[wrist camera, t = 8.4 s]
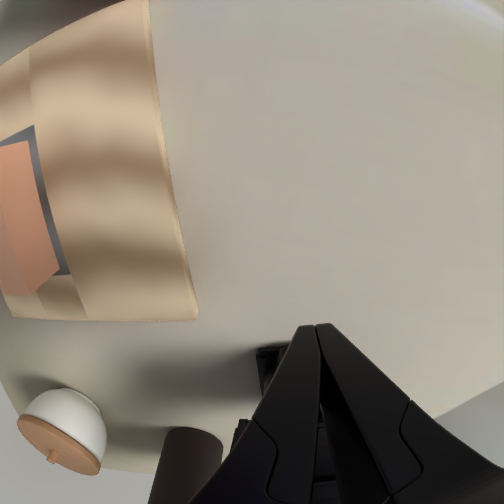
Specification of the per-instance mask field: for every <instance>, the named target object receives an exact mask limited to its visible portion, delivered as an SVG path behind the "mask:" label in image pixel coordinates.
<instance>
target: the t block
mask: <svg viewBox="0 0 504 504" xmlns="http://www.w3.org/2000/svg"><path fill="white" fill-rule="evenodd" d="M59 269H60V267H59V264H58V261H57V258H56V255H55V252H54V249H53V246H52V243H51V240H50V236H49V233H48V230H47V226H46V222H45V219H44V215H43V211H42V207H41V204H40V199H39V195H38V191H37V187H36V182H35V177H34V172H33V167H32V162H31V156H30V150H29V144H28V140H27V141H23V142H18V143H14V144H10V145H6V146H2V147H0V288H1V291H2V293H3V295H32V294H33V293H34V292H35V291H36V290H37V289H38V288H39V287H40V286H41V285H42V284H43V283H44V282H46V281H47V280H48V279H49V278H50V277H51V276H52V275H53V274H55V273H56V272H57V271H58V270H59Z"/></svg>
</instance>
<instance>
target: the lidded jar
mask: <svg viewBox="0 0 504 504" xmlns="http://www.w3.org/2000/svg"><path fill="white" fill-rule="evenodd" d="M17 426H18V428H19V430H20V432H21V433H22V435H23V436H24V437H25V438H26V439H27V440H28V441H29V442H30V443H31V444H32V445H33V446H34V447H35V448H36V449H37V450H39V451H40V452H41V453H43V454H44V455H45V456H47V461H49V462H50V463H52V464H55V462H56V463H58V464H60V465H62V466H64V467H65V468H68V469H70V470H73V471H75V472H77V473H81V474H85V475H97V474H98V473H99V470H100V467H101V462H102V460H103V457H104V453H105V449H106V443H107V432H106V427H105V424H104V421H103V419H102V417H101V412H100V410H99V408H98V407H97V406H96V405H95V403H94V402H92V401H91V400H90V399H89V398H88V397H86V396H85V395H83V394H82V393H80V392H78V391H76V390H73V389H70V388H61V389H53V390H48V391H45V392H43V393H42V394H40V395H38V396H37V397H36V398H35V399H34V400H33V401H32V402H31V403H30V404H29V405H28V407H27V408H26V410H25V411H24V413H23V415H21V416H20V417H19V419H18V421H17Z"/></svg>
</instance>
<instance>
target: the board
mask: <svg viewBox="0 0 504 504" xmlns="http://www.w3.org/2000/svg"><path fill="white" fill-rule="evenodd" d="M27 140H28V144H29V150H30V156H31V162H32V167H33V172H34V177H35V182H36V187H37V191H38V195H39V199H40V204H41V207H42V211H43V215H44V219H45V222H46V226H47V230H48V233H49V236H50V240H51V243H52V246H53V249H54V252H55V255H56V258H57V261H58V264H59V267H60V269H59V270H58V271H57V272H56V273H55V274H53V275H52V276H51V277H50V278H49V279H48V280H47V281H46V282H44V283H43V284H42V285H41V286H40V287H39V288H38V289H37V290H36V291H35V292H34V293H33V294H32V295H3V297H4V299H5V301H6V303H7V305H8V308H9V310H10V312H11V314H12V316H13V317H18V318H33V319H51V320H76V321H189V320H196V318H197V315H198V312H199V309H198V305H197V300H196V296H195V292H194V288H193V284H192V279H191V275H190V271H189V266H188V262H187V257H186V253H185V248H184V244H183V239H182V234H181V229H180V224H179V219H178V214H177V209H176V204H175V199H174V194H173V188H172V183H171V177H170V171H169V165H168V160H167V154H166V147H165V141H164V135H163V128H162V121H161V114H160V107H159V99H158V92H157V84H156V75H155V66H154V57H153V47H152V36H151V25H150V12H149V0H125V1H122V2H119V3H117V4H114V5H111V6H109V7H106V8H104V9H102V10H99V11H97V12H95V13H92V14H90V15H88V16H86V17H83V18H81V19H79V20H77V21H75V22H73V23H71V24H69V25H67V26H65V27H63V28H61V29H59V30H57V31H55V32H54V33H52V34H50V35H48V36H46V37H45V38H43V39H41V40H39V41H38V42H36V43H34V44H33V45H31V46H30V47H28V48H26V49H25V50H23V51H22V52H20V53H19V54H17V55H15V56H14V57H13V58H11V59H10V60H8V61H7V62H5V63H4V64H2V65H1V66H0V147H2V146H6V145H10V144H14V143H18V142H23V141H27ZM0 290H1V288H0ZM1 292H2V291H1ZM2 294H3V293H2Z"/></svg>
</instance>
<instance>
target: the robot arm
mask: <svg viewBox="0 0 504 504" xmlns="http://www.w3.org/2000/svg"><path fill="white" fill-rule="evenodd" d="M261 354H265V355H261ZM256 359H257V366H258V372H259V378H260V385H261V391H262V399H261V401H260V403H259V405H258V407H257V409H256V410H255V412H254V414H253V416H252V420H248V419H239V423H238V428H236V429H235V433H234V437H233V441H232V445H231V449H230V453H229V455H228V456H227V457H226V458H225V460H224V461H223V462H222V464H221V465H220V466H219V468H218V469H217V470H216V471H215V472H214V474H213V475H212V476H211V477H210V478H209V479H208V481H207V482H206V483H205V484H204V485H203V486H202V487H201V489H200V490H199V491H198V492H197V493H196V494H195V495H194V496H193V498H192V499H191V500H190V501H189V502H188V503H187V504H504V468H501V467H499V466H497V465H495V464H494V463H492V462H490V461H489V460H487V459H486V458H484V457H483V456H482V455H480V454H479V453H477V452H476V451H475V450H473V449H472V448H470V447H469V446H467V445H466V444H465V443H464V442H462V441H461V440H459V439H458V438H457V437H455V436H454V435H452V434H451V433H450V432H448V431H447V430H446V429H445V428H443V427H442V426H441V425H440V424H438V423H437V422H436V421H435V420H434V419H432V418H431V417H430V416H429V415H428V414H427V413H426V412H425V411H423V410H422V409H421V408H420V407H419V406H418V405H417V404H416V403H415V402H414V401H413V400H410V398H409V397H408V396H407V395H406V394H405V393H404V392H403V391H402V390H401V389H400V388H399V387H398V386H397V385H396V384H395V383H394V382H393V381H392V380H390V379H389V378H388V377H387V376H386V375H385V374H384V373H383V372H382V371H381V370H380V369H379V368H378V367H377V366H376V365H375V364H374V363H372V362H371V361H370V360H369V359H368V358H367V357H366V356H365V355H364V354H363V353H362V352H361V351H360V350H359V349H358V348H357V347H356V346H355V345H353V344H352V343H351V342H350V341H349V340H348V339H347V338H346V337H345V336H344V335H343V334H342V333H341V332H340V331H339V330H338V329H337V328H335V327H334V326H333V325H332V324H331V323H324V324H317V325H315V326H314V325H303V326H299V327H298V328H297V330H296V332H295V334H294V336H293V338H292V340H291V342H290V344H289V346H287V347H273V348H260V349H258V350H257V352H256Z"/></svg>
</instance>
